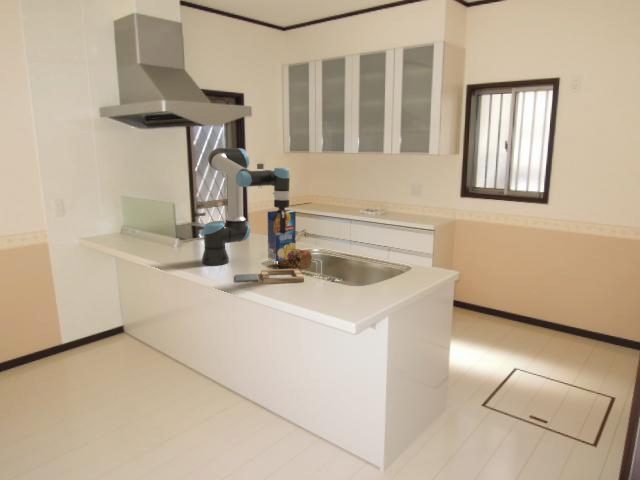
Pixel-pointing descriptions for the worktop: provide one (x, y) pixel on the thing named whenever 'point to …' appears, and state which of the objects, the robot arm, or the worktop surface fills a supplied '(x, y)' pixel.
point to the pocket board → (296, 272)
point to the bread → (298, 260)
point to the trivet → (246, 277)
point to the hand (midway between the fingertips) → (281, 244)
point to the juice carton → (281, 236)
